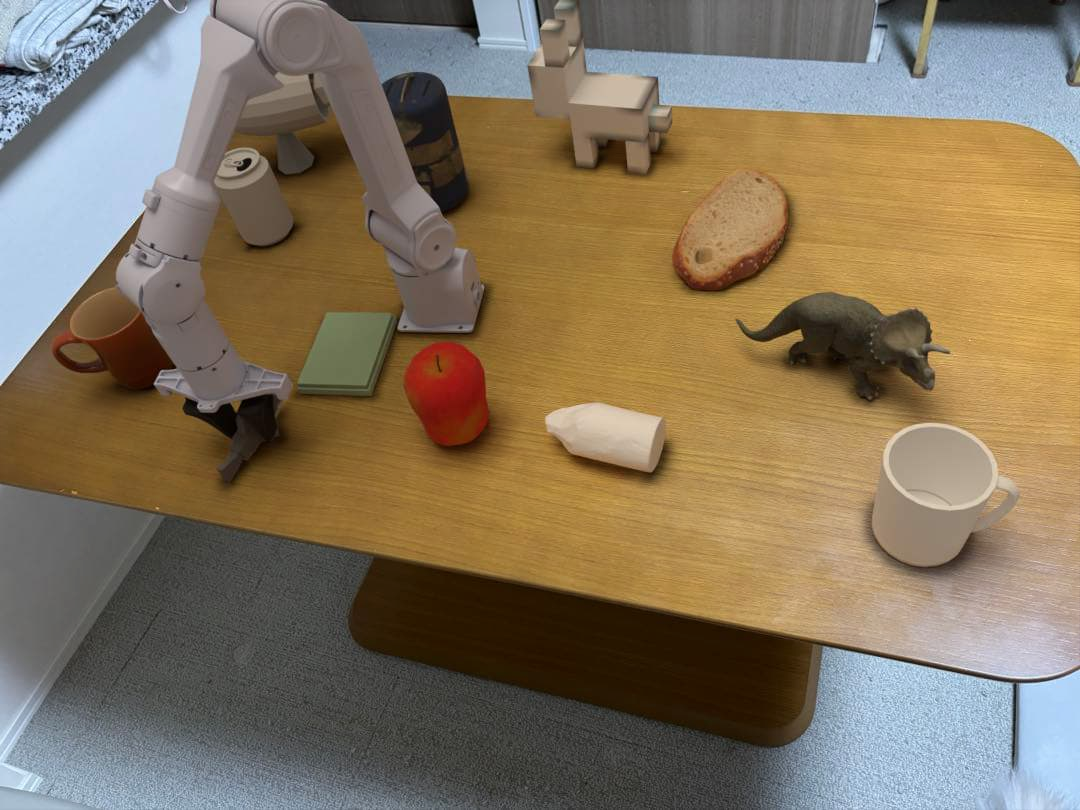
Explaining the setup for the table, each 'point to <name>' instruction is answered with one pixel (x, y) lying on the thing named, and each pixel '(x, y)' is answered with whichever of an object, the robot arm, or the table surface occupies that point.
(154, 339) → the mug
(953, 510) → the mug
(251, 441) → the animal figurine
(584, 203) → the table surface
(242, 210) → the can
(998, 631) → the table surface
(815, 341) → the toy dinosaur
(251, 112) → the jet engine
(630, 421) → the white tapered cylinder
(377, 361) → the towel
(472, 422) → the apple
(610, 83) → the toy llama
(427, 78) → the canister
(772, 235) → the bread slice
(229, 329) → the table surface
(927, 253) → the table surface
